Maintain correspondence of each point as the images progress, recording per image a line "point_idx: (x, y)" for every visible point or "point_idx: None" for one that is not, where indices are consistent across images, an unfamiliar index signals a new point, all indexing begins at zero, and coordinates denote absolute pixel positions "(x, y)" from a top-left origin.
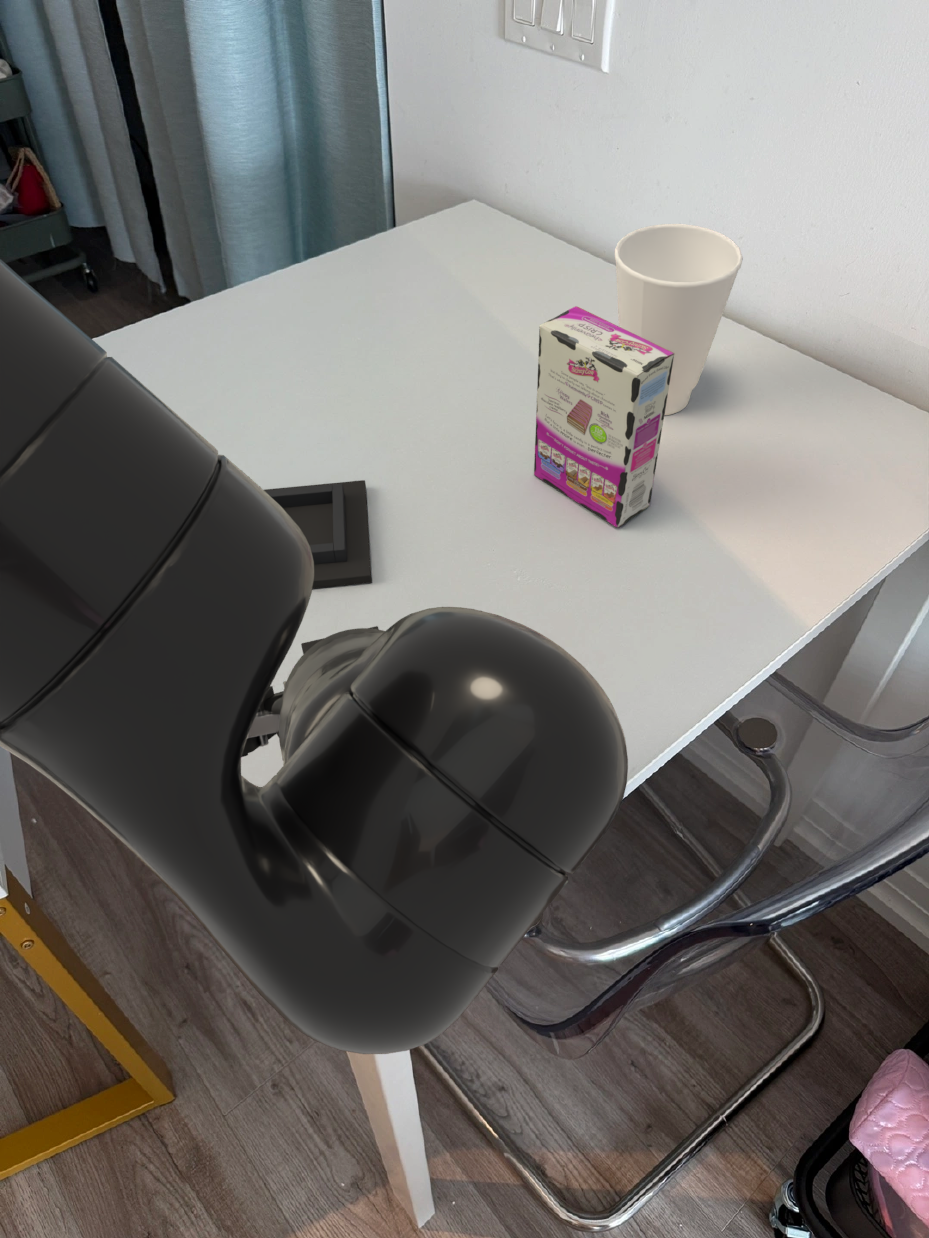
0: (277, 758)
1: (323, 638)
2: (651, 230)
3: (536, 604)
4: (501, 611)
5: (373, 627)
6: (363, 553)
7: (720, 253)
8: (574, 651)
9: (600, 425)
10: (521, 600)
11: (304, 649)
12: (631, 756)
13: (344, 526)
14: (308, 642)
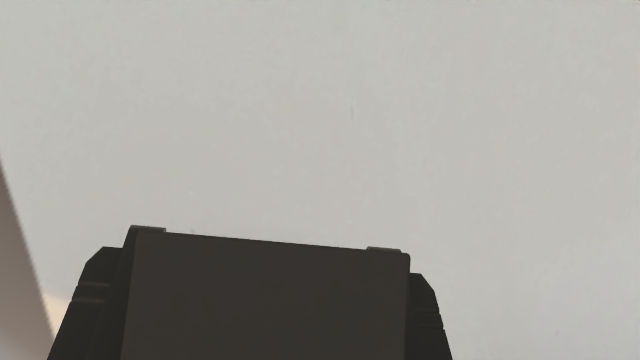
0: (133, 139)
1: (219, 238)
2: None
3: (604, 27)
4: (550, 17)
5: (396, 259)
6: None
7: None
8: (626, 134)
9: None
10: (585, 10)
11: (140, 262)
12: (636, 344)
13: None
14: (163, 237)
